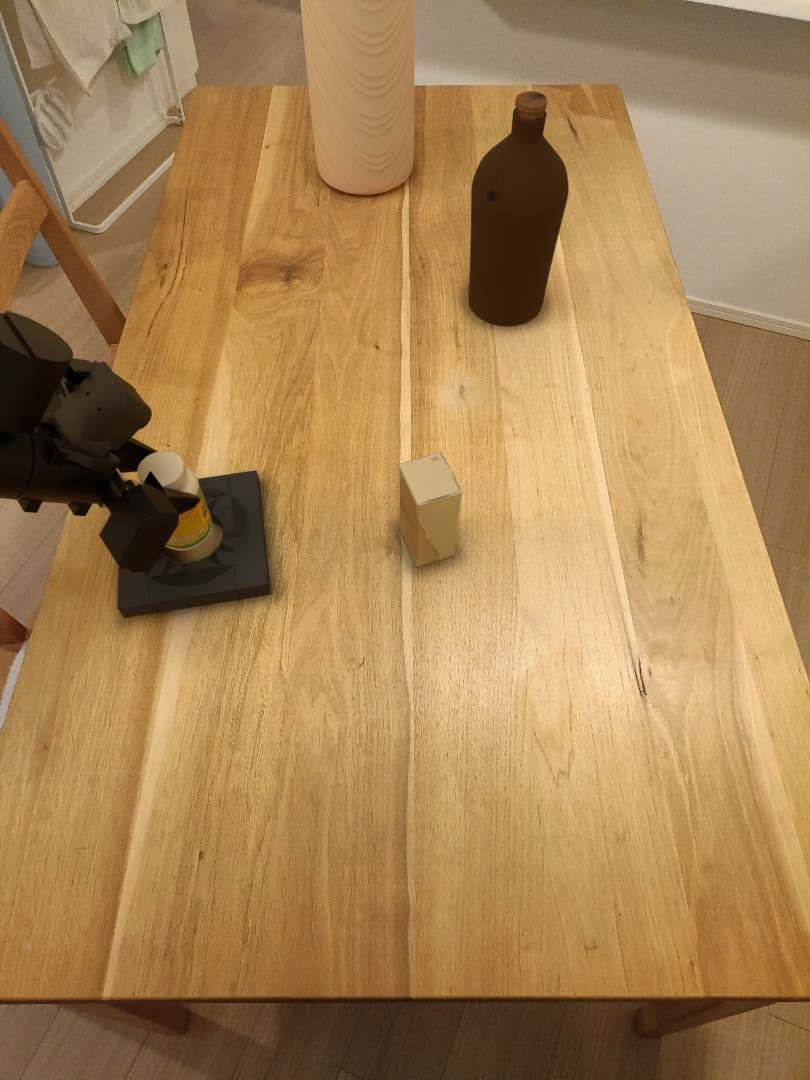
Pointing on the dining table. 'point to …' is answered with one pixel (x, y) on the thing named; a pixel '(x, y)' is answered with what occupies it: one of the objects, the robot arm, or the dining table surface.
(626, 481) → the dining table surface
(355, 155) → the vase
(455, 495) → the box
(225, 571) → the socket pad
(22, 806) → the dining table surface
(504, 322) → the olive oil
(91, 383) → the robot arm
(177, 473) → the supplement bottle
